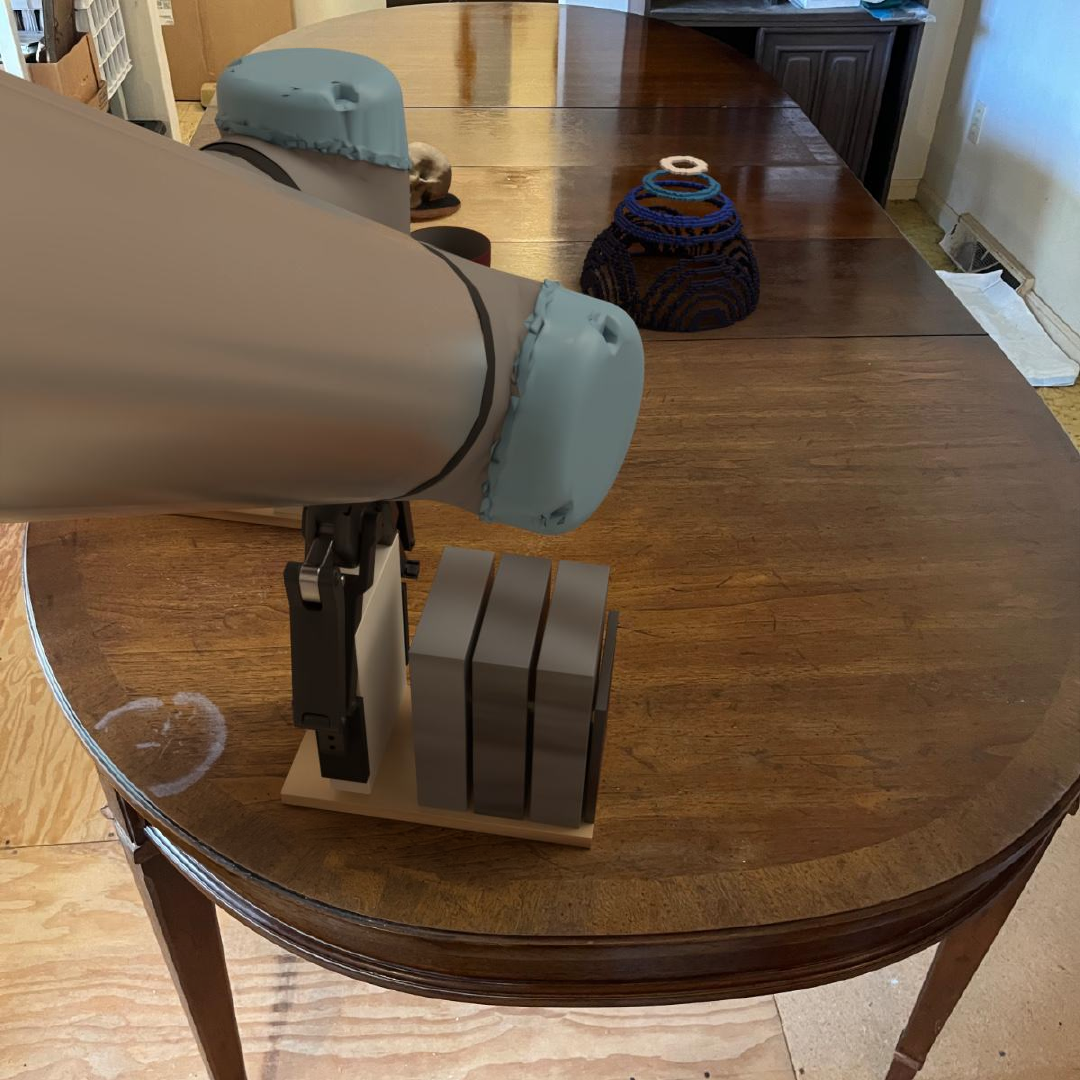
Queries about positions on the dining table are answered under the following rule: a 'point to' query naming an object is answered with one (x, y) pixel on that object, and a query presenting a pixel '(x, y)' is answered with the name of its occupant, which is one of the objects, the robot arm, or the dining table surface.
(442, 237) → the mug
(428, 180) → the skull
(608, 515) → the dining table surface
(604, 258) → the decorative bowl
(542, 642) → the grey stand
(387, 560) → the white book
